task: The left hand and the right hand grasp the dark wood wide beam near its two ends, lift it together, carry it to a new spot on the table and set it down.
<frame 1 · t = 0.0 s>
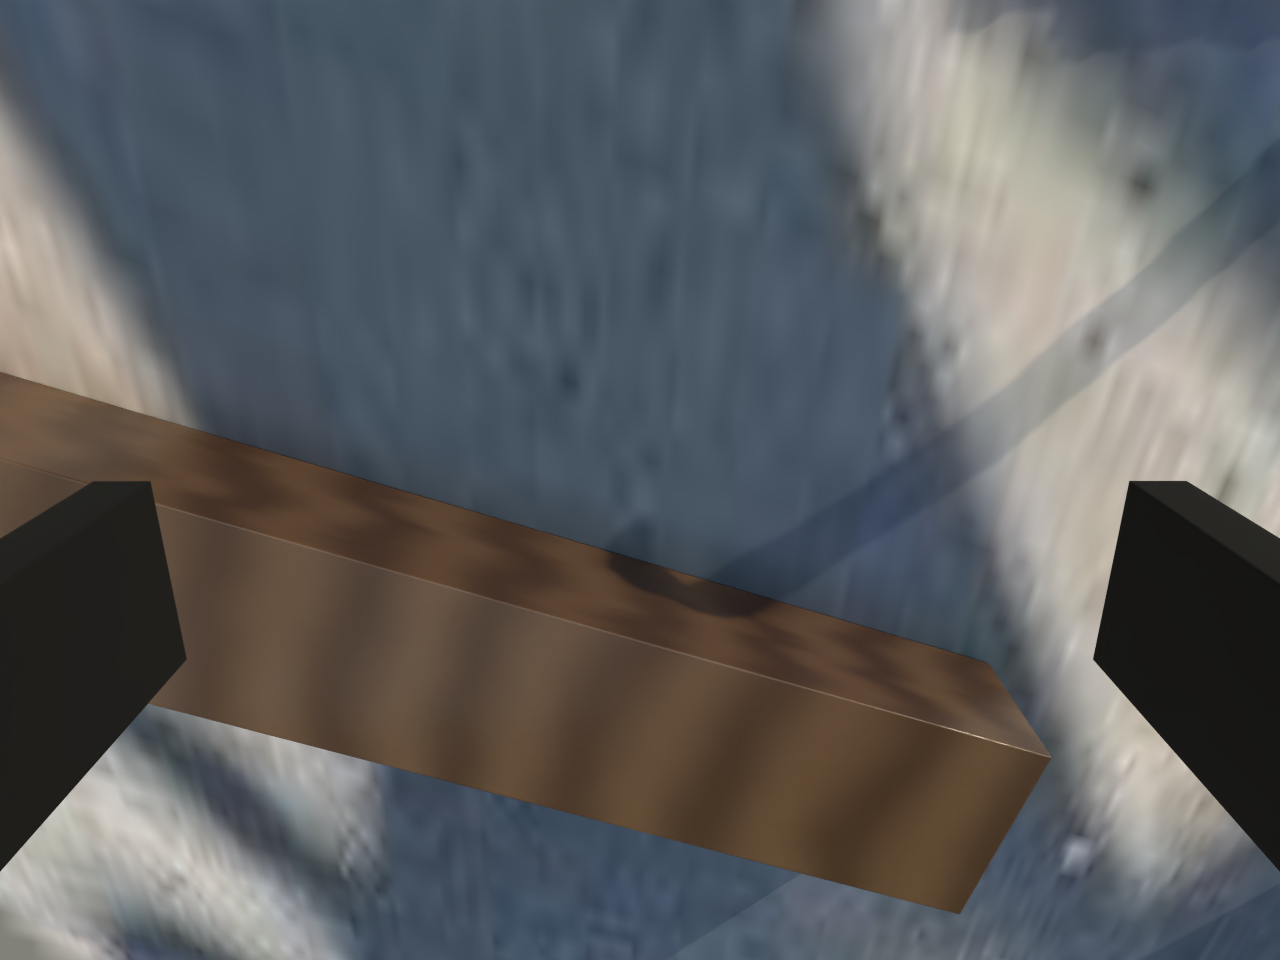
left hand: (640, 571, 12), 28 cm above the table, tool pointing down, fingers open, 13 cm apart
wide beam: (383, 574, 43), on the table
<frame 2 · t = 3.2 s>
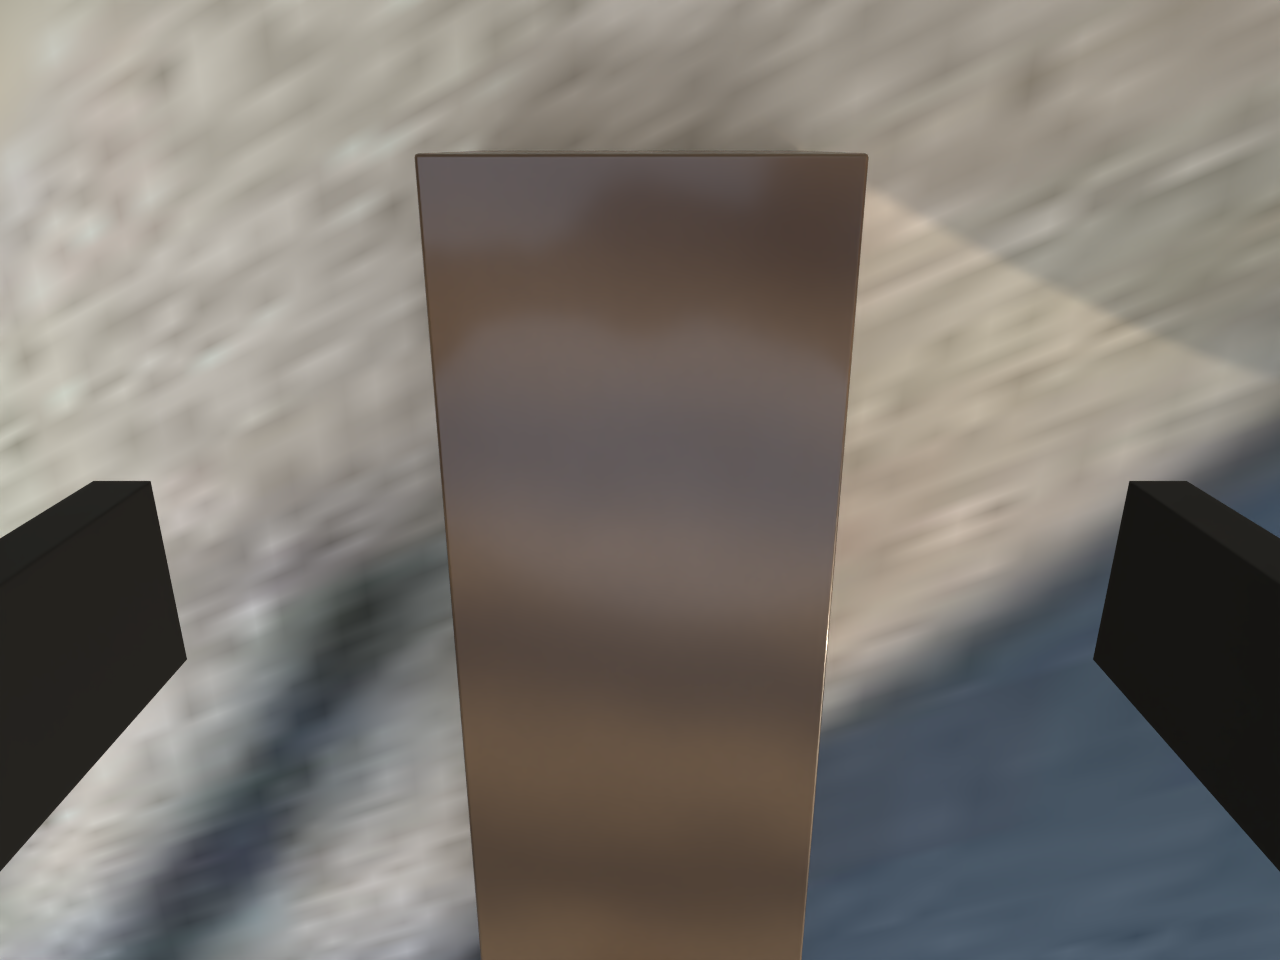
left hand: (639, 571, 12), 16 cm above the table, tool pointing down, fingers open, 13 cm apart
wide beam: (640, 957, 36), on the table, touching right hand
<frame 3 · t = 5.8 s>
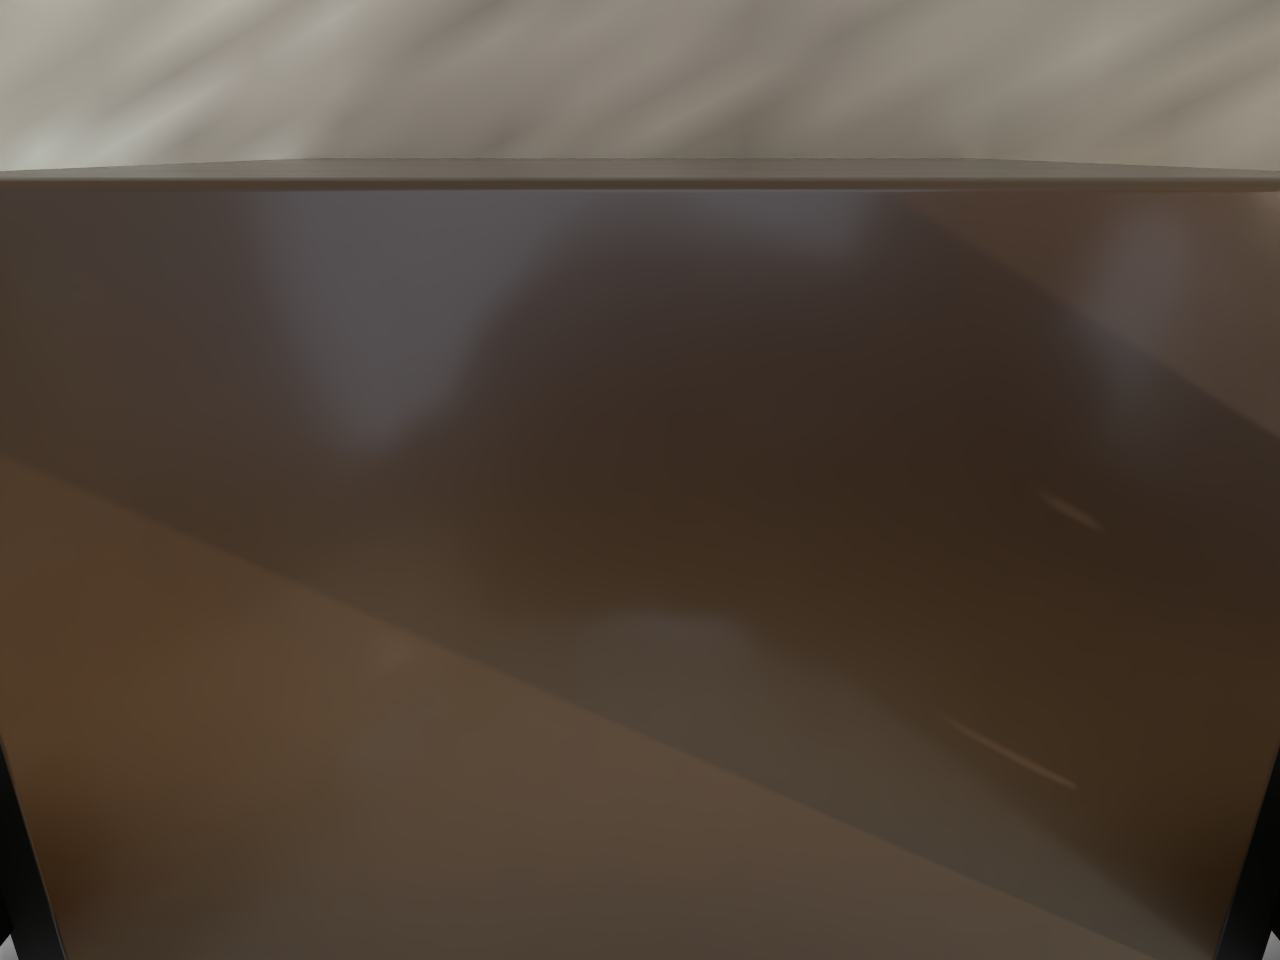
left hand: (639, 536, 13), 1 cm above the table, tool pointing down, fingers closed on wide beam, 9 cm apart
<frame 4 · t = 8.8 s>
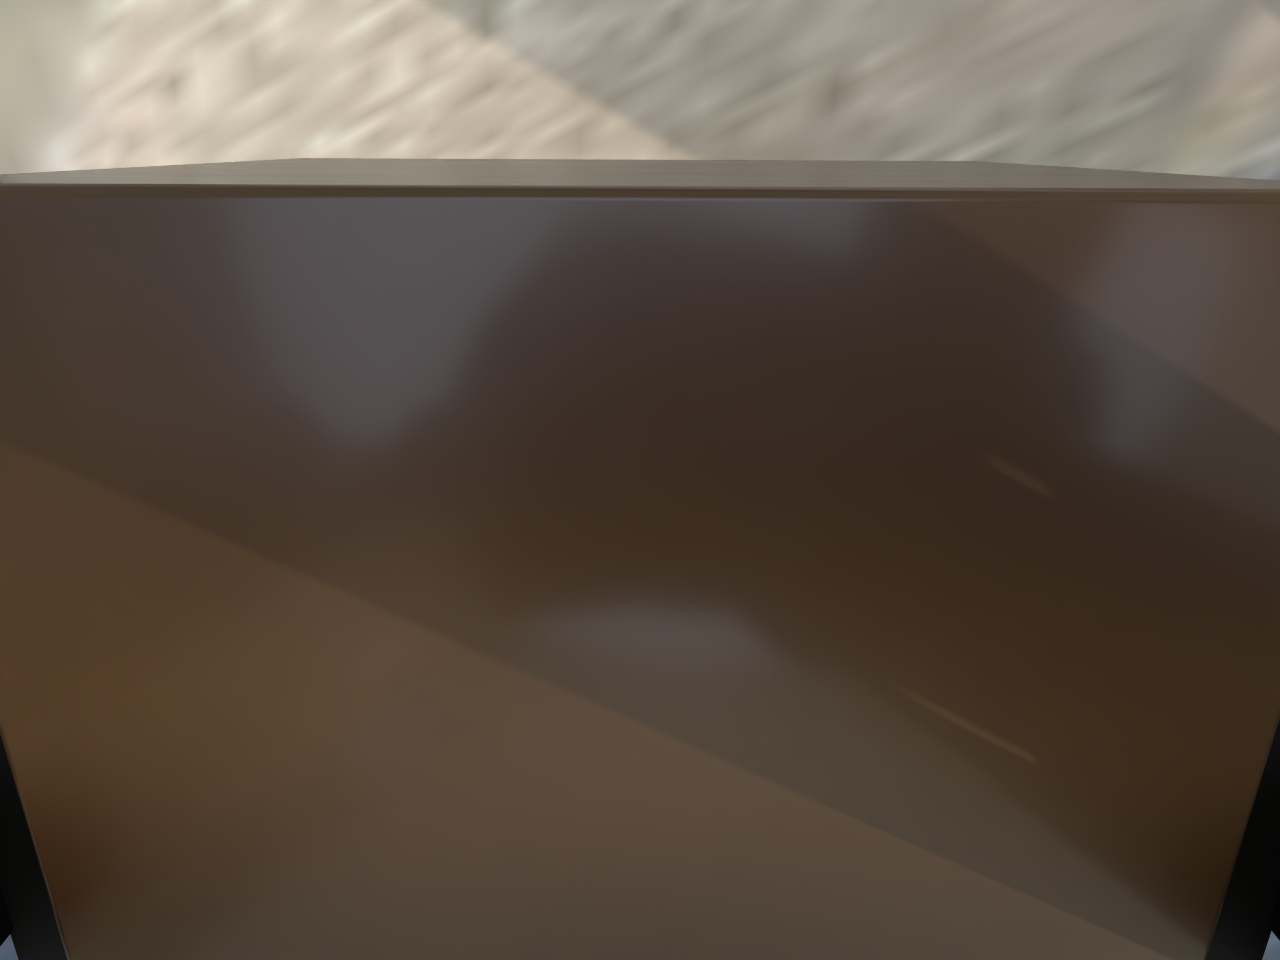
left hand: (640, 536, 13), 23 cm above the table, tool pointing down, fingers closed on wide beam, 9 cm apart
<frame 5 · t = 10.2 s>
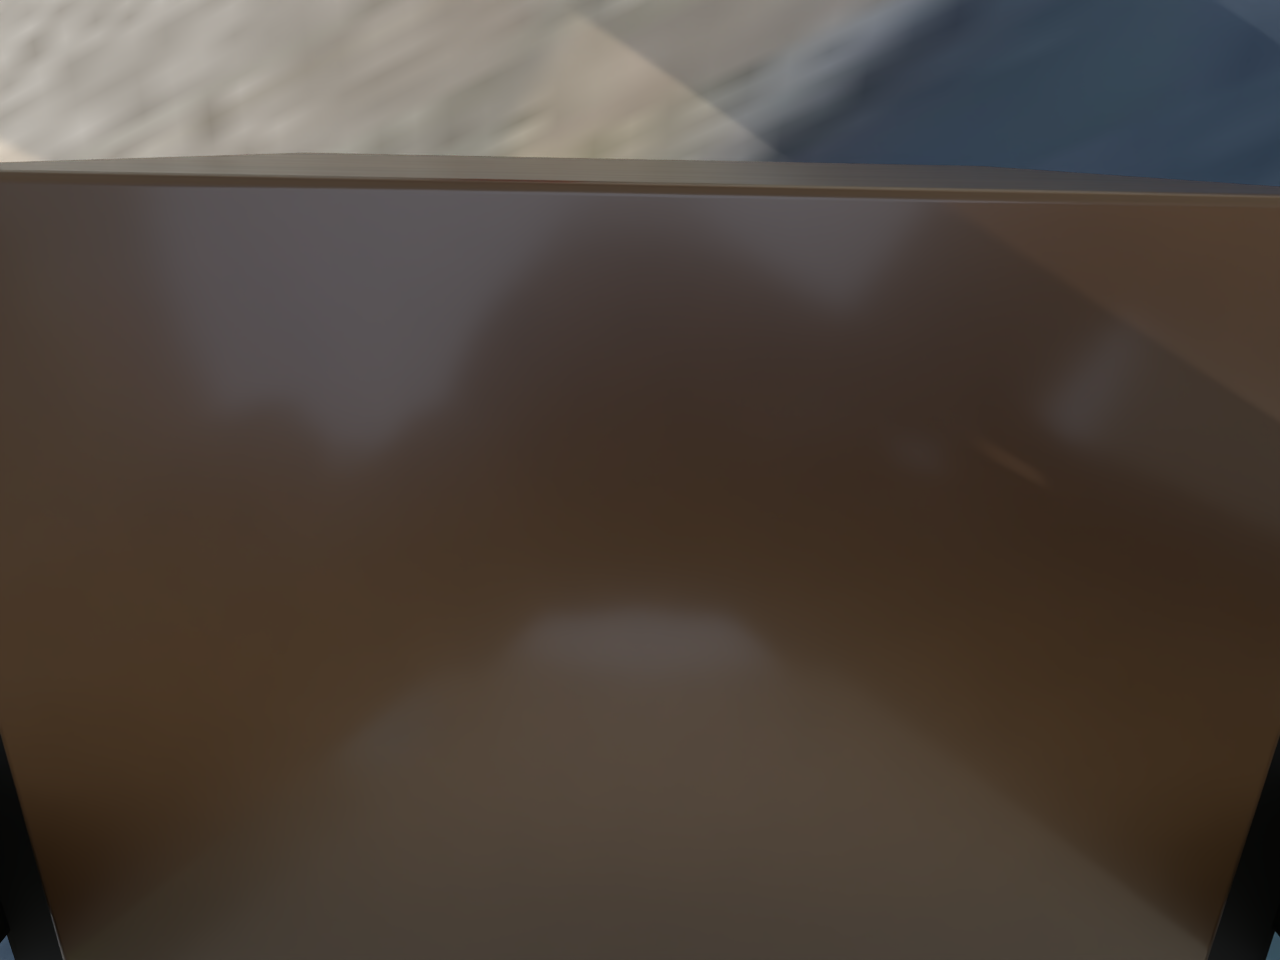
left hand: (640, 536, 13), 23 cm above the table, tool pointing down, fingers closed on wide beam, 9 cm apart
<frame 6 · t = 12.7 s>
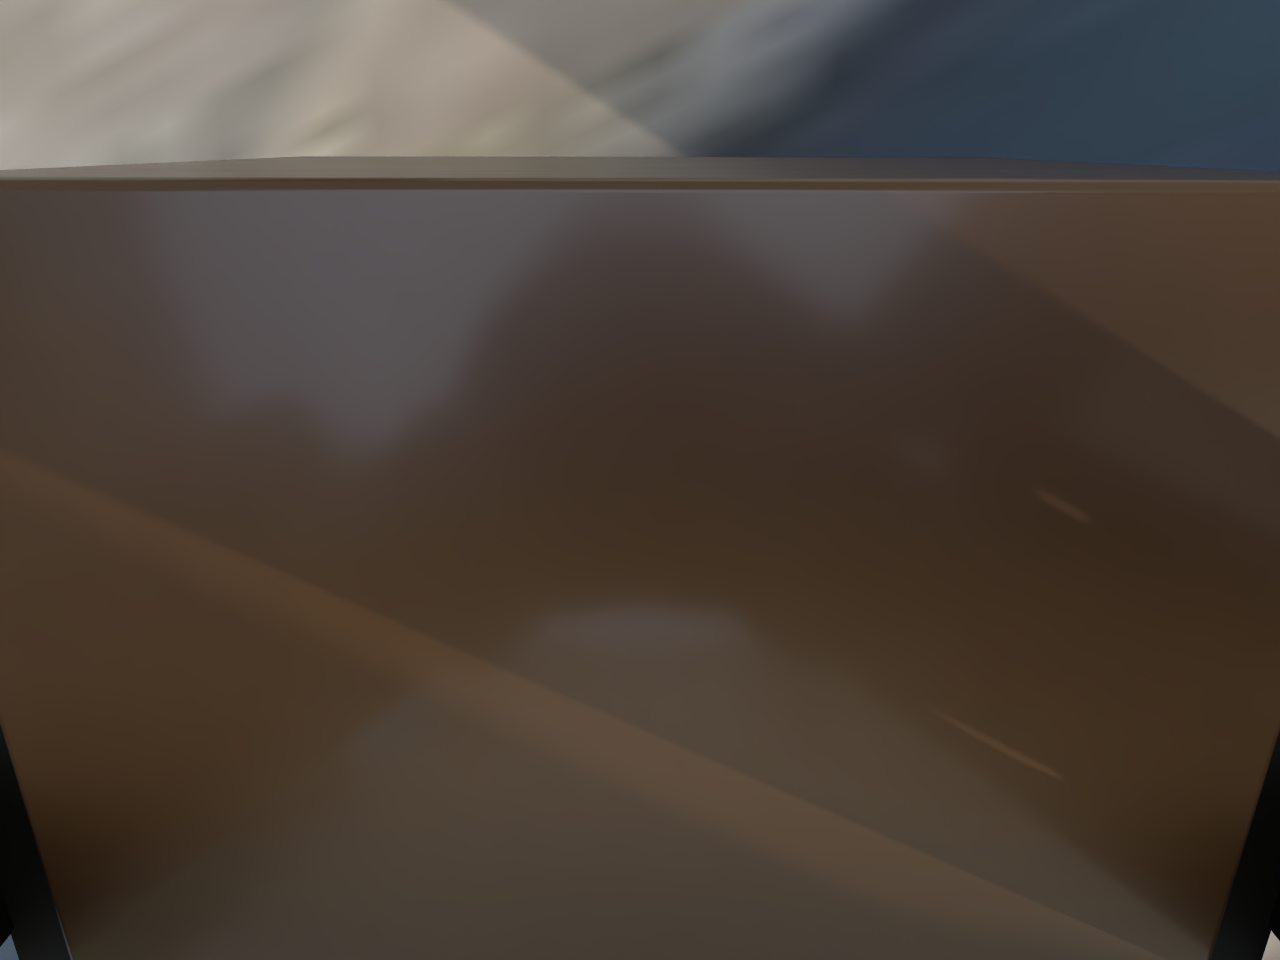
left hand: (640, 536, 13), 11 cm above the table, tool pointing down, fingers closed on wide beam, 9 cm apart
when the left hand's fingers open (2 cm above the table, at t = 14.7 s): wide beam drops 1 cm, on the table.
when the right hand's fingers open (2 cm above the table, at t = 14.7 s): wide beam drops 1 cm, on the table.
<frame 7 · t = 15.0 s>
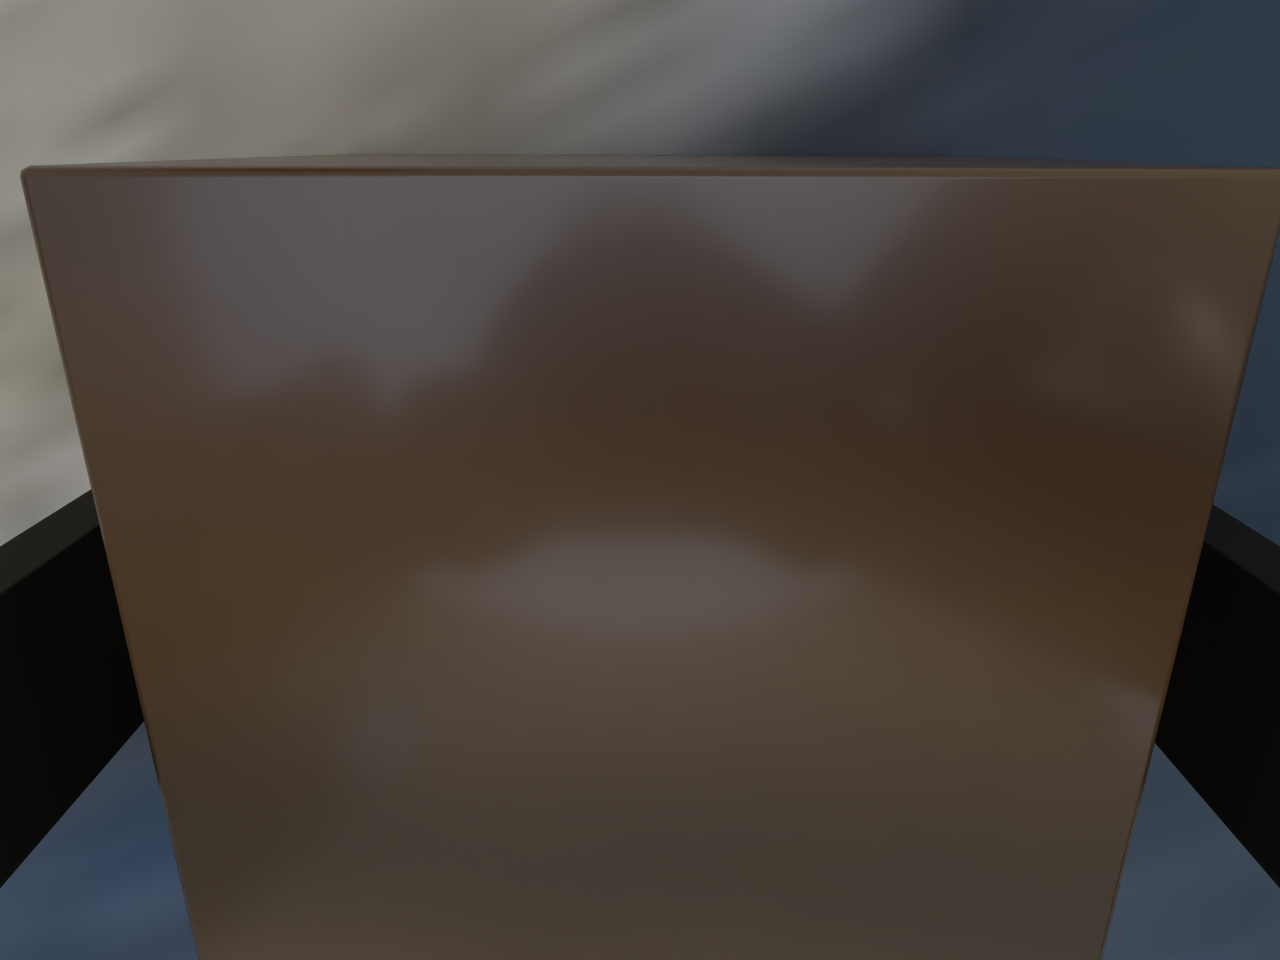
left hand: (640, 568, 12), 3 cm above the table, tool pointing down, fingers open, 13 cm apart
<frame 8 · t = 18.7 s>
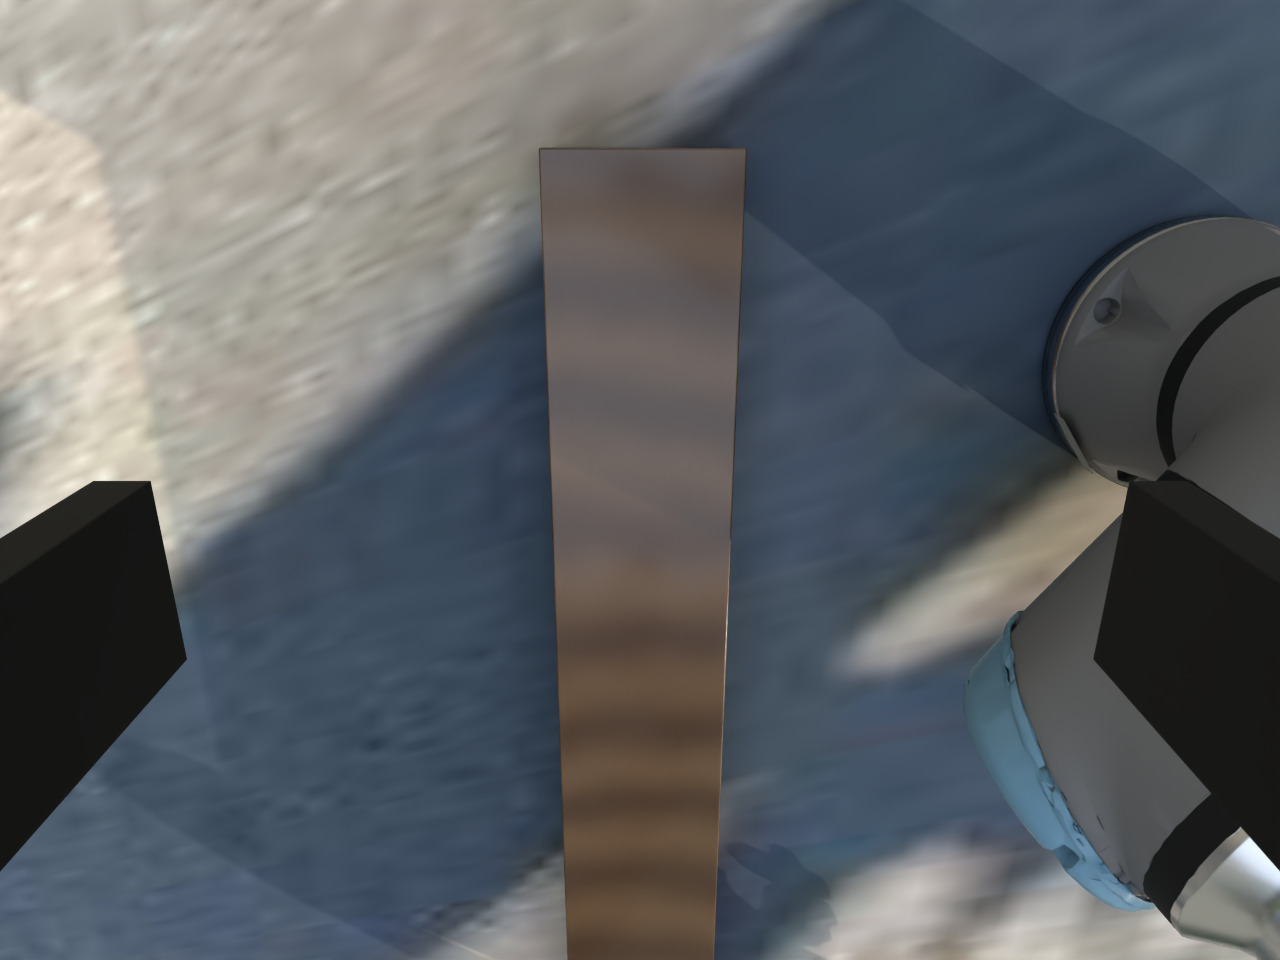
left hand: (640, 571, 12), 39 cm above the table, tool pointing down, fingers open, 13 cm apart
wide beam: (641, 650, 57), on the table
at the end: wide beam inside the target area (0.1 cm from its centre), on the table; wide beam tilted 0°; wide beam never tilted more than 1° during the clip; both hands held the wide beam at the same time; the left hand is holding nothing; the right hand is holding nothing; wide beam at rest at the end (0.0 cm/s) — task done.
